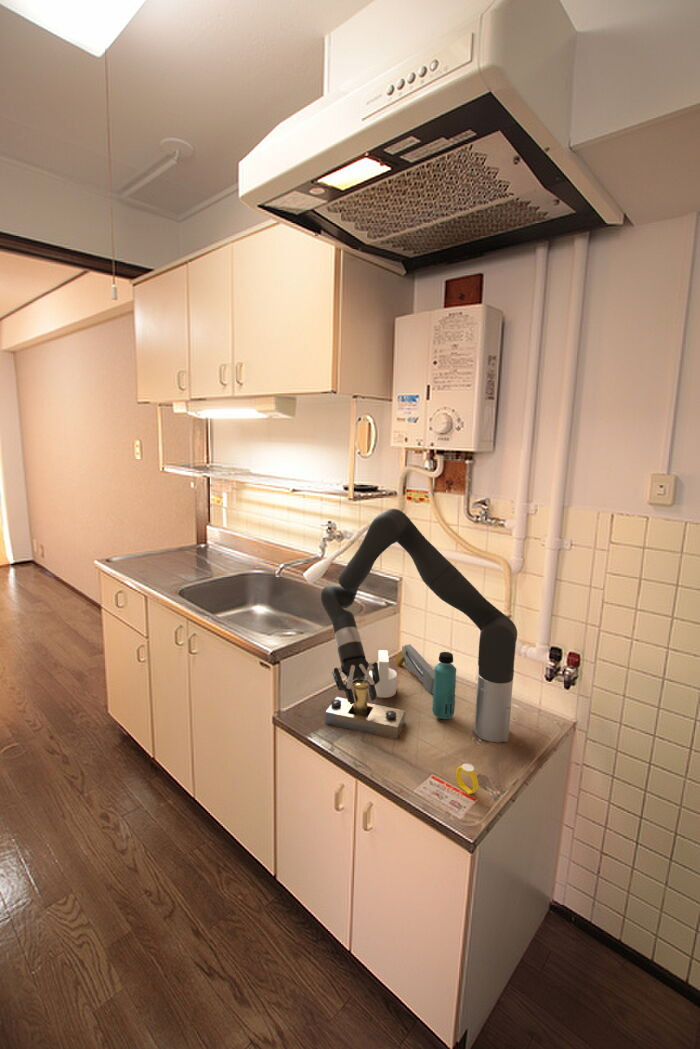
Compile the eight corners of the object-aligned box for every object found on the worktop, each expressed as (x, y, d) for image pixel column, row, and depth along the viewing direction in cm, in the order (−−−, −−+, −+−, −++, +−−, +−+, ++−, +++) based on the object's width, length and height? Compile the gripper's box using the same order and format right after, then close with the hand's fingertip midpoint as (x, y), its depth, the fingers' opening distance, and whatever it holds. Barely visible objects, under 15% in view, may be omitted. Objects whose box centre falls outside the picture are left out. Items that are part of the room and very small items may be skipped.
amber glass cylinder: (370, 719, 146) (371, 680, 144) (365, 727, 141) (366, 688, 139) (354, 715, 147) (355, 677, 145) (349, 724, 143) (350, 685, 141)
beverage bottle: (444, 726, 143) (448, 660, 140) (426, 716, 148) (430, 652, 145) (458, 719, 147) (463, 654, 144) (441, 709, 152) (444, 647, 149)
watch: (479, 796, 116) (482, 774, 114) (470, 800, 114) (473, 778, 113) (461, 779, 121) (463, 757, 119) (452, 783, 119) (455, 761, 118)
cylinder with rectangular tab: (397, 698, 158) (398, 662, 156) (368, 697, 158) (369, 661, 156) (395, 684, 167) (396, 650, 165) (368, 683, 167) (369, 649, 165)
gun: (426, 716, 164) (438, 684, 157) (391, 661, 183) (401, 630, 175) (434, 714, 165) (446, 682, 158) (399, 660, 184) (409, 629, 177)
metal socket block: (404, 722, 145) (405, 707, 144) (396, 739, 136) (397, 723, 135) (336, 707, 151) (336, 693, 151) (325, 723, 143) (325, 708, 142)
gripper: (329, 643, 145) (342, 701, 136) (375, 637, 150) (390, 693, 141) (323, 653, 151) (336, 709, 142) (367, 647, 156) (382, 701, 147)
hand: (363, 701), depth 141 cm, fingers open, 6 cm apart
